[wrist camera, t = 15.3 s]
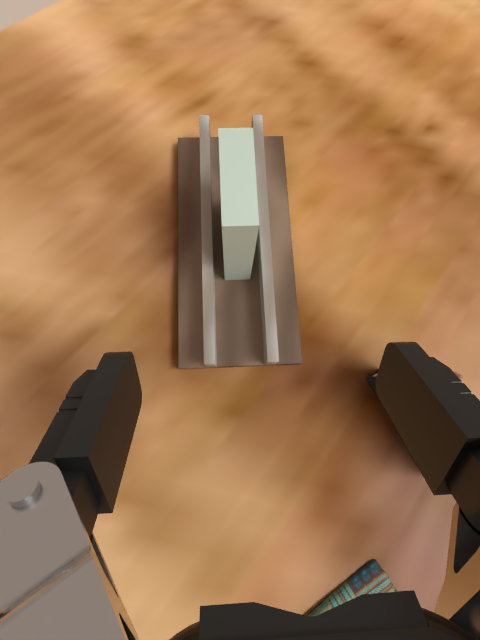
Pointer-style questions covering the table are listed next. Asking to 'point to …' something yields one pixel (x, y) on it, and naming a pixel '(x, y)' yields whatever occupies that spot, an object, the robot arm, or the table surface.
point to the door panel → (238, 201)
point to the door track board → (208, 263)
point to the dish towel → (358, 587)
